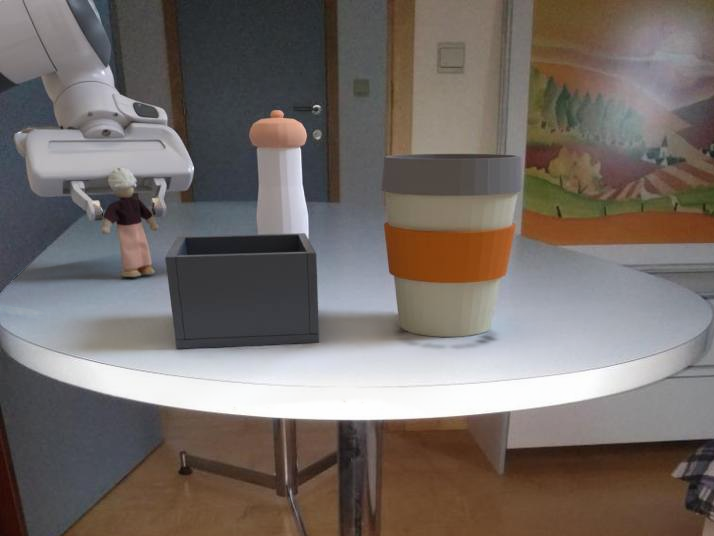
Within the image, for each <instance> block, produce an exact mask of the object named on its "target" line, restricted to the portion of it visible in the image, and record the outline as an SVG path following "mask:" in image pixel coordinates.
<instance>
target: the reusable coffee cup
mask: <svg viewBox="0 0 714 536" xmlns="http://www.w3.org/2000/svg"><path fill="white" fill-rule="evenodd" d="M383 160H384V161H383V167H382V169H383V171H382V178H381V187H380V188H381V189H380V191H382V192H384V196H385V204H386V205H385V206H386V213H387V215H386V217H387V222H384V224H383V228H384V229H383V230H384V238H385V247H386V256H387V265H388V273H389V274H390V275H392V276H393V279H394V288H395V290H394V291H395V298H396V309H397V316H398V317H397V318H398V326H399V327H400V328H401V329H402V330H404V331H407V332H408V333H412V334H416V335H422V336H427V337H439V338H440V337H441V338H456V337H457V338H459V337H470V336H476V335H479V334H480V335H481V334H483V333H486V332H488V331H490V330H491V328H492V325H493V324H492V323H493V319H494V314H495V309H496V304H497V300H498V294H499V289H500V284H501V279H502V278H503V277H504V276H506V275H507V272H508V267H509V262H510V258H511V252H512V247H513V242H514V239H515V238H514V237H515V232H516V229H517V228H516V227H517V225H516V223H514V222H513V219H514V215H515V209H516V204H517V200H518V194H519V193H520V192H522V191H523V167H522V166H523V162H522V156H521V155H519V154H518V155H516V154H504V153H503V154H502V153H501V154H500V153H418V154H417V153H416V154H415V153H414V154H411V153H410V154H394V155H393V154H392V155H386V156H384V158H383Z"/></svg>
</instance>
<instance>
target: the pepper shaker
mask: <svg viewBox="0 0 714 536" xmlns="http://www.w3.org/2000/svg"><path fill="white" fill-rule="evenodd" d="M269 115H270V117H268V118H260V119H259V120H257V121H255V122H253V124H252V125H251V127H250V129H249V135H248V137H249V140H250V143H251V145H252V146H254V147H257V148H256V159H257V161H256V162H257V175H258V177H257V178H258V192H257V202H256V203H257V205H256V229H257V234H296V233H297V234H298V233H305V234H306V236H307V238H308V239H309V213H308V208H307V207H308V206H307V202H306V196H305V191H304V185H303V167H302V166H303V165H302V149H301V147H302V146H304V145H306V142H307V137H308V134H307V131H306V128H305V127H304V125H303V123H302V122H300V121H298V120H296V119H295V118H287V117H284V115H285V113H284V112H283V111H282V110H280V109H275V110H272V111H271V112H270V114H269Z"/></svg>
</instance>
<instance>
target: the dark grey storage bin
mask: <svg viewBox="0 0 714 536" xmlns="http://www.w3.org/2000/svg"><path fill="white" fill-rule="evenodd" d="M164 258H165V259H164V260H165V266H166V267H165V268H166V275H167V283H168V291H169V300H170V309H171V315H172V324H173V331H174V340H175V347H176V349H177V350H180V349H181V350H182V349H183V350H184V349H202V348H203V349H204V348H205V349H206V348H224V347H225V348H226V347H247V346H248V347H249V346H268V345H270V346H271V345H291V344H313V343H314V344H316V343H320V325H319V323H320V322H319V294H318V293H319V292H318V291H319V290H318V261H317V252H316V250H315V249H314V247H313V245H312V243H311V240H309V237H308V238H307V236H306V234H305V233H298V234H297V233H296V234H258V233H257V234H222V235H184V236H181V235H180V236H177V237H176V238H175V240H174V242H173V244H172V245H171V247H170V249H169V250H168V252H167V254H166V255H165V257H164Z"/></svg>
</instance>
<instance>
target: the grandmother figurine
mask: <svg viewBox="0 0 714 536" xmlns="http://www.w3.org/2000/svg"><path fill="white" fill-rule="evenodd" d="M136 182H137V181H136V179H135V177H134V176H133V173H131V172H130V171H129V170H128V169H125V168H118V169H115V170H113V171H112V172H111V173H110V175H109V179H108V183H109V185H110V188H111V189H112V190H113V192H114V194H113V195H115V196H116V197H117V198H118V200H115V201H113V202H111V203H110V204H109V205H108V206H107V207H106V209H105V212H104V213H103V216H102V217H103V220H102V226H101V228H100V232H101V233H102V234H103V235H109V234H111V228H112V225H113V224H115V223H116V230H117V231H116V232H117V235H118V240H119V241H118V242H119V249H120V259H121V267H122V268H123V269H122V271H121V273H120V276H122V277H128V278H129V277H130V278H136V277H140V276H141V275H152V274H155V270H154V269H153V267H152V265H153V262H152V258H151V251H150V247H149V243H148V240H147V236H146V233H145V230H144V229H145V228H144V227H143V222H142V221H143V220H145V222H146V223H147V225H149V229H150V230H152V231H158V229H159V225H158V223H157V222H156V219H155V217H153V215H152V214H153V213H152V212H151V210H149V209H148V207H147V206H146V205H145V204H144V203H143V202H142V200H141V199H139V198H134V197H133V195H134V194H135V193H134V188H135V187H136V186H137V185H136ZM142 219H143V220H142Z"/></svg>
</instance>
